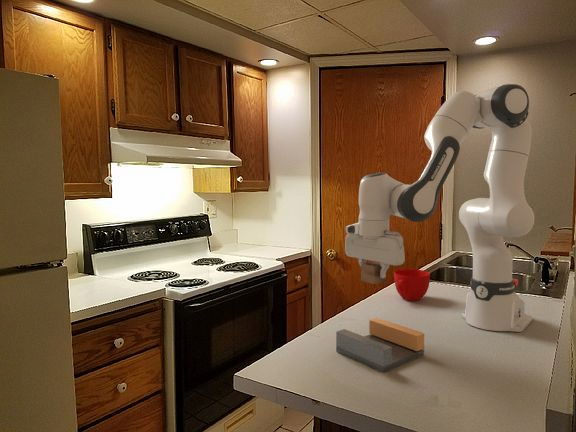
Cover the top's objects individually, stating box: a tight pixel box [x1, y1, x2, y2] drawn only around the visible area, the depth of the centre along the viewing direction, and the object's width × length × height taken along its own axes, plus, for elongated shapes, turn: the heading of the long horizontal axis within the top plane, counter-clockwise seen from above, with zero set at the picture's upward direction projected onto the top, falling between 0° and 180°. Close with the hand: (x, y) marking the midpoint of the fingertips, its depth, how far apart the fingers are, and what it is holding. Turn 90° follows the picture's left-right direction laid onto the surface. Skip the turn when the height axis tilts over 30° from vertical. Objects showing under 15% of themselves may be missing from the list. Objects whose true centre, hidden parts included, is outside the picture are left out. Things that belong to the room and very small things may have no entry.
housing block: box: [360, 261, 386, 285], centre depth 127 cm, size 5×5×5 cm
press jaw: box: [368, 317, 425, 351], centre depth 117 cm, size 3×16×4 cm, turn 38°
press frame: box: [335, 328, 425, 374], centre depth 113 cm, size 16×16×6 cm
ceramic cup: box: [393, 268, 431, 302], centre depth 161 cm, size 13×17×10 cm
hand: (373, 275), depth 127 cm, fingers closed on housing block, 5 cm apart
